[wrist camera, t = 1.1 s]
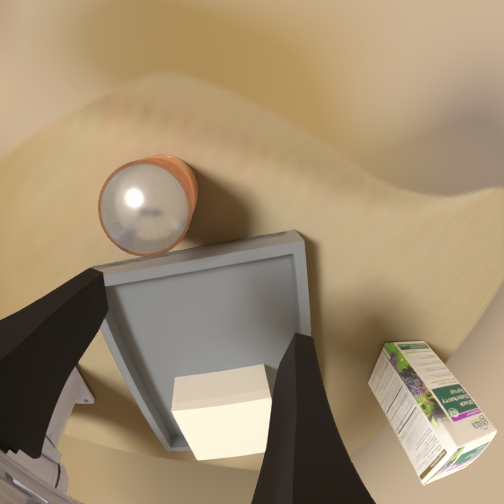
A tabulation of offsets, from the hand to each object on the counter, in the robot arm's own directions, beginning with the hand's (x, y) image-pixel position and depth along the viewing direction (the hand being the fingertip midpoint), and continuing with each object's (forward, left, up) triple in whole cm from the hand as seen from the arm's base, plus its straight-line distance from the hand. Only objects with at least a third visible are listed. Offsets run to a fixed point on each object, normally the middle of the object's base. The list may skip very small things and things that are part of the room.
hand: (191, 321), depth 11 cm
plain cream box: (-1, -17, -12) cm, 20 cm away
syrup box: (+17, -18, -13) cm, 28 cm away
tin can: (-2, +3, -12) cm, 13 cm away
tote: (-1, -12, -12) cm, 17 cm away
